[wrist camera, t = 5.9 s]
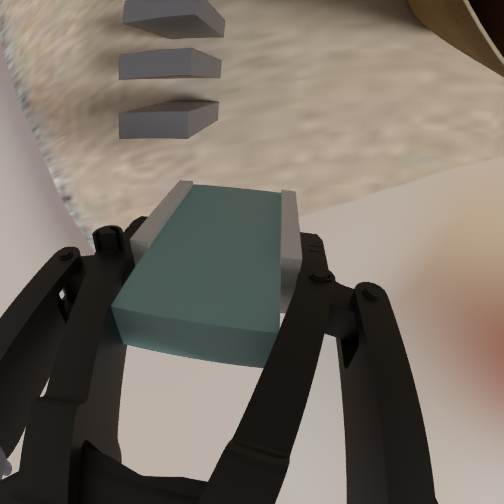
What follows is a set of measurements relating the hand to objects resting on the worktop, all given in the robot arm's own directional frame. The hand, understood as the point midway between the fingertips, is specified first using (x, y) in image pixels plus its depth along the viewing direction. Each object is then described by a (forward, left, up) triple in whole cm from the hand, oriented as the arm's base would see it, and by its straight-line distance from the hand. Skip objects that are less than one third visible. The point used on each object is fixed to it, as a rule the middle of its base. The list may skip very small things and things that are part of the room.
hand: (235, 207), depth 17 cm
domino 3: (-4, -6, -13) cm, 15 cm away
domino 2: (-8, -6, -13) cm, 17 cm away
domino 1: (-13, -6, -13) cm, 19 cm away
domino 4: (0, 0, 0) cm, 0 cm away
